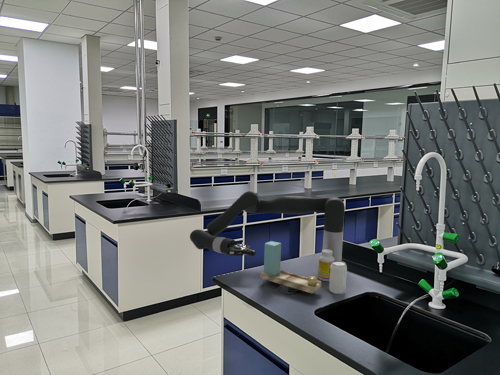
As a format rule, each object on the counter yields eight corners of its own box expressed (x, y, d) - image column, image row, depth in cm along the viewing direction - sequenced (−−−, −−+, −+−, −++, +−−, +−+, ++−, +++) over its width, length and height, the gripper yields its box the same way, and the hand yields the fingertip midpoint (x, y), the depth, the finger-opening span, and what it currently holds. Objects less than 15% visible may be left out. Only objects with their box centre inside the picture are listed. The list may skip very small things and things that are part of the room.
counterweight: (305, 285, 142) (306, 277, 142) (310, 282, 145) (310, 275, 145) (314, 287, 140) (314, 280, 140) (318, 284, 143) (318, 277, 143)
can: (327, 292, 146) (328, 263, 144) (331, 286, 151) (333, 259, 150) (343, 296, 143) (345, 266, 141) (347, 290, 148) (348, 262, 147)
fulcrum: (275, 289, 147) (275, 284, 146) (289, 281, 155) (289, 276, 155) (290, 294, 143) (290, 288, 142) (303, 286, 151) (304, 280, 151)
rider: (263, 273, 153) (264, 243, 152) (270, 269, 157) (271, 241, 156) (273, 276, 150) (274, 245, 149) (280, 272, 154) (281, 243, 153)
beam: (260, 278, 153) (260, 272, 152) (271, 272, 159) (271, 267, 159) (311, 293, 138) (312, 287, 138) (321, 287, 145) (321, 281, 144)
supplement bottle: (329, 283, 155) (331, 254, 153) (315, 279, 159) (316, 251, 157) (335, 278, 160) (337, 250, 159) (322, 274, 164) (323, 247, 163)
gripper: (215, 241, 163) (245, 248, 153) (233, 235, 173) (263, 241, 163) (215, 257, 164) (245, 265, 154) (233, 250, 175) (263, 257, 164)
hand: (254, 253), depth 159 cm, fingers closed
